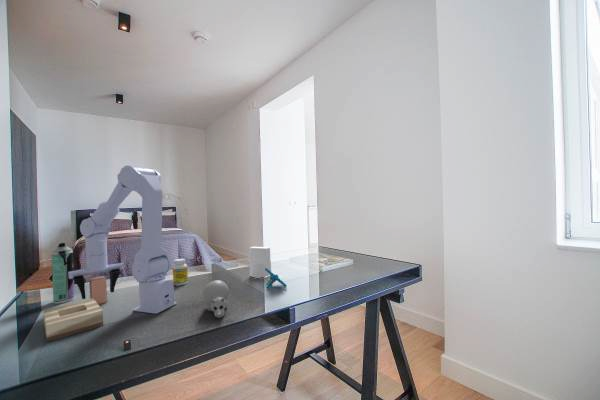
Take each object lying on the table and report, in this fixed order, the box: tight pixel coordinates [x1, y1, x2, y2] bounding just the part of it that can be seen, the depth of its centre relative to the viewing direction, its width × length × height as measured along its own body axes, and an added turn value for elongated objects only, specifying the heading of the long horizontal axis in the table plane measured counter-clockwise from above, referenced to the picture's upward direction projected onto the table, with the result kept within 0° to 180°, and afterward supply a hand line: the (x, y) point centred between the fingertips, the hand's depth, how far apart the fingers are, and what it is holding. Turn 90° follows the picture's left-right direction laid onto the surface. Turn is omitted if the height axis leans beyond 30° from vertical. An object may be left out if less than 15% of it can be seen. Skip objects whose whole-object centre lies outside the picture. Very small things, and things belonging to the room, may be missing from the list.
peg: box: [88, 275, 108, 305], centre depth 89 cm, size 4×4×8 cm
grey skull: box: [202, 279, 230, 319], centre depth 77 cm, size 7×12×8 cm, turn 21°
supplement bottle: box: [172, 258, 189, 286], centre depth 107 cm, size 5×5×10 cm
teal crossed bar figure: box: [265, 268, 287, 290], centre depth 97 cm, size 11×6×10 cm
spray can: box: [51, 242, 75, 305], centre depth 92 cm, size 6×6×20 cm
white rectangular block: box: [249, 246, 272, 277], centre depth 114 cm, size 9×9×12 cm
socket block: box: [42, 298, 104, 342], centre depth 73 cm, size 14×11×4 cm
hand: (98, 294), depth 89 cm, fingers open, 7 cm apart
